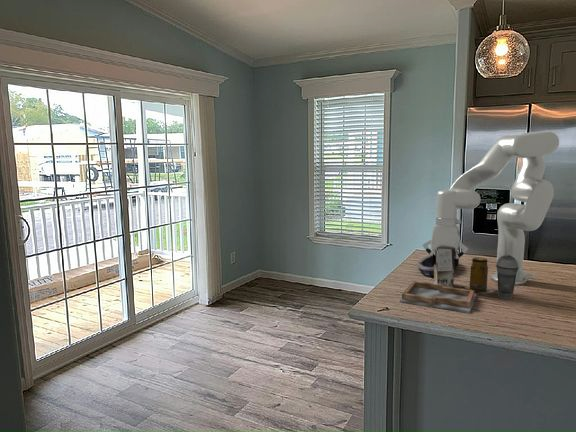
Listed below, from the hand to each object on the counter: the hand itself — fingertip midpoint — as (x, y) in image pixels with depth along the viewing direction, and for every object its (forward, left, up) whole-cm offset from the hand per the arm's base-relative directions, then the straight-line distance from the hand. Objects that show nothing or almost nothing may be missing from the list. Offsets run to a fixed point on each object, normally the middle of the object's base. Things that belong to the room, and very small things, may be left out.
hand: (444, 266), depth 168 cm
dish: (+6, -24, -9) cm, 26 cm away
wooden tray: (-2, +16, -8) cm, 18 cm away
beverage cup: (-22, +3, -8) cm, 24 cm away
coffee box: (0, 0, -8) cm, 8 cm away
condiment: (-13, -2, -8) cm, 16 cm away
